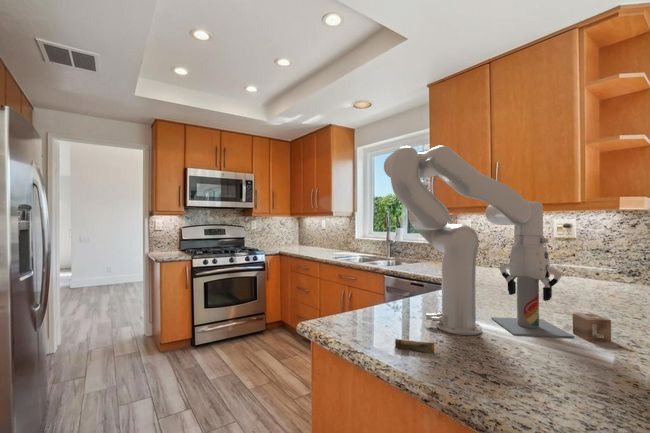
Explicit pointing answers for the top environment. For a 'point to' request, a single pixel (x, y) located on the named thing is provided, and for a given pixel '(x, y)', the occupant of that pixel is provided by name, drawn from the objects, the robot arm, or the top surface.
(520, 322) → the lotion bottle
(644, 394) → the top surface
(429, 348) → the snack bar
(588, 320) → the letter cube
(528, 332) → the grey mat
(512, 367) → the top surface
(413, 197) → the robot arm
